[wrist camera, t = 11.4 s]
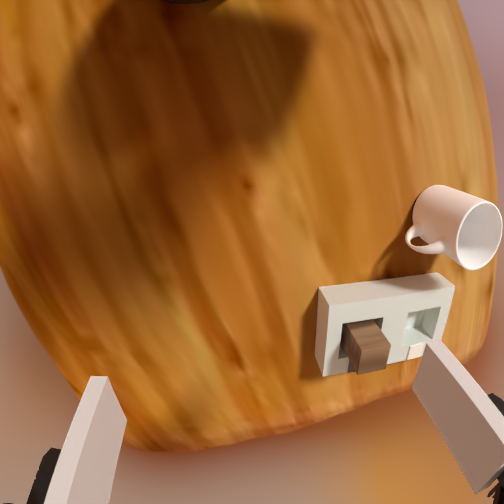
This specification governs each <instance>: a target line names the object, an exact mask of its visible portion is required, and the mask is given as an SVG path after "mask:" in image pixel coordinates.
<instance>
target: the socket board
mask: <svg viewBox="0 0 504 504" xmlns="http://www.w3.org/2000/svg"><path fill="white" fill-rule="evenodd" d="M454 289H455V286H454V285H453V284H452V283H451V282H449V281H448V280H447V279H445V278H444V277H443V276H442V275H440V274H439V273H438V272H436V273H428V274H421V275H414V276H407V277H399V278H391V279H383V280H375V281H367V282H359V283H350V284H341V285H332V286H323V287H319V290H318V310H317V327H316V342H315V358H316V361H317V363H318V366H319V368H320V371H321V373H322V376H323V377H324V376H330V375H336V374H341V373H347V372H354V371H355V369H354V367H353V365H352V363H351V361H350V359H349V358H348V356H347V354H346V352H345V350H344V348H343V346H342V344H341V342H340V341H341V332H342V324H343V323H350V322H356V321H363V320H369V319H373V320H374V322H375V323H376V324H377V326H378V327H379V328H380V330H381V331H382V333H383V334H384V335H385V337H386V338H387V340H388V341H389V343H390V344H391V348H390V352H389V356H388V360H387V364H391V363H395V362H400V361H404V360H409V359H413V358H417V357H420V356H423V352H424V349H425V346H426V343H428V342H432V341H436V340H441V338H442V335H443V332H444V328H445V325H446V321H447V317H448V314H449V310H450V306H451V302H452V298H453V294H454Z"/></svg>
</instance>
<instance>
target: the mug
mask: <svg viewBox="0 0 504 504" xmlns="http://www.w3.org/2000/svg"><path fill="white" fill-rule="evenodd" d="M412 218H413V226H411V227H410V228H409V230H408V231H407V233H406V236H405V241H406V243H407V245H408V246H409V247H410V248H412V249H413V250H415V251H417V252H420V253H425V254H441V253H443V254H445V255H446V256H448V257H449V258H450V259H452V260H453V261H455V262H456V263H458V264H459V265H461V266H462V267H464V268H465V269H467V270H477V269H480V268H481V267H483V266H485V265H486V264H487V263H488V262H489V261H490V260H491V259H492V257H493V256H494V254H495V253H496V251H497V249H498V246H499V243H500V241H501V236H502V218H501V214H500V212H499V210H498V208H497V207H496V206H495V205H494V204H493V203H491V202H488V201H486V200H483V199H481V198H478V197H475V196H473V195H470V194H467V193H464V192H462V191H459V190H456V189H453V188H450V187H447V186H444V185H433V186H430V187H429V188H427V189H425V190H424V191H423V192H422V193H421V194H420V195H419V197H418V198H417V200H416V202H415V205H414V208H413V216H412ZM418 236H419V237H420V238H421V239H422V240H423V241H425V242H426V243H428V244H429V245H426V246H414V245H412V244H411V243H410V240H411V239H412V238H414V237H418Z"/></svg>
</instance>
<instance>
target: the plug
mask: <svg viewBox="0 0 504 504" xmlns="http://www.w3.org/2000/svg"><path fill="white" fill-rule="evenodd" d="M340 342H341V344H342V346H343V348H344V350H345V352H346V354H347V356H348V358H349V359H350V361H351V363H352V365H353V367H354V369H355V371H356V373H357V375H359V374H364V373H369V372H374V371H378V370H383V369H385V368H386V364H387V360H388V356H389V352H390V348H391V344H390V343H389V341H388V340H387V338H386V337H385V335H384V334H383V333H382V331H381V330H380V328H379V327H378V326H377V324H376V323H375V322H374V320H373V319H369V320H363V321H356V322H350V323H343V324H342V332H341V341H340Z"/></svg>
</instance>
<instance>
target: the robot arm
mask: <svg viewBox="0 0 504 504" xmlns="http://www.w3.org/2000/svg"><path fill="white" fill-rule="evenodd" d="M163 1H167V2H173V3H195V2H201V1H206V0H163ZM412 389H413V391H414V392H415V394H416V395H417V397H418V399H419V400H420V402H421V403H422V405H423V407H424V408H425V410H426V411H427V413H428V415H429V416H430V418H431V420H432V421H433V423H434V424H435V426H436V428H437V429H438V431H439V433H440V434H441V436H442V437H443V439H444V441H445V443H446V444H447V446H448V448H449V449H450V451H451V453H452V454H453V456H454V458H455V460H456V461H457V463H458V465H459V466H460V468H461V470H462V472H463V473H464V475H465V477H466V479H467V480H468V482H469V484H470V486H471V487H472V490H473V491H474V493H475V494H477V493H479V492H480V491H482V490H484V489H486V488H487V487H489V486H490V485H491V484H492V483H493V482H494V481H495V480H496V479H498V481H499V483H498V484H497V485H496V486H495V487H494V488H493V489H492V490H491V491H490V492H489V494H488V497H490V496H491V495H492V494H493V493H494V492H495V494H494V496H493V497H492V498H494V501H493V504H504V401H503V400H502V399H501V398H499V397H497V396H496V395H494V394H493V393H491V394H489V395H486V393H485V392H484V391H483V390H482V389H481V387H480V386H479V385H478V384H477V382H476V381H475V380H474V379H473V378H472V377H471V375H470V374H469V373H468V372H467V370H466V369H465V368H464V367H463V366H462V364H461V363H460V362H459V361H458V360H457V359H456V357H455V356H454V355H453V354H452V353H451V352H450V351H449V349H448V348H447V347H446V346H445V345H444V344H443V343H442V341H441V340H436V341H432V342H428V343H426V346H425V349H424V352H423V356H422V359H421V362H420V365H419V368H418V371H417V374H416V377H415V380H414V383H413V386H412ZM126 423H127V419H126V417H125V415H124V413H123V411H122V408H121V406H120V404H119V402H118V400H117V397H116V395H115V393H114V391H113V388H112V386H111V384H110V381H109V379H108V377H104V376H91V377H90V379H89V382H88V384H87V386H86V389H85V391H84V394H83V396H82V398H81V401H80V404H79V406H78V408H77V411H76V413H75V416H74V418H73V421H72V423H71V426H70V429H69V431H68V434H67V437H66V439H65V442H64V445H63V447H62V450H61V449H55V448H51V449H50V450H49V451H48V452H47V453H46V454H45V455H44V456H43V458H42V461H41V464H40V466H39V471H38V472H37V474H36V479H35V480H34V483H33V486H32V489H31V492H30V495H29V498H28V501H27V504H109V501H110V495H111V490H112V485H113V481H114V475H115V471H116V466H117V461H118V457H119V453H120V448H121V444H122V440H123V436H124V431H125V427H126ZM4 504H12V503H4Z"/></svg>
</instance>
